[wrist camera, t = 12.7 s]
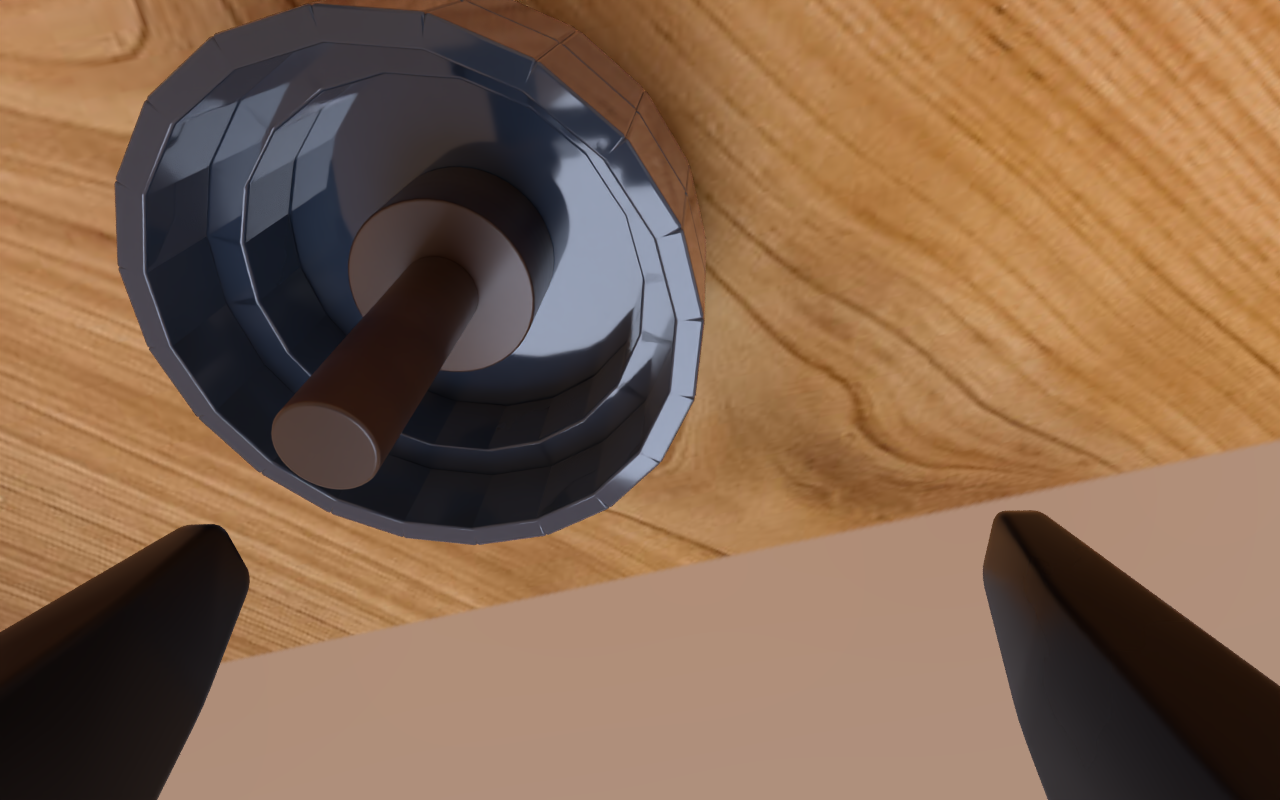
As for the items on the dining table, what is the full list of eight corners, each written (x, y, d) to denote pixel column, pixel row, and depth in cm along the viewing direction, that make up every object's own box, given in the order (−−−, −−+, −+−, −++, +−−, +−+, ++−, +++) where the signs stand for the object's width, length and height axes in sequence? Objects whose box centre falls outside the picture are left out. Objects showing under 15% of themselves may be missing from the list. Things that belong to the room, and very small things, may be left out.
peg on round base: (587, 243, 18) (509, 443, 11) (495, 355, 20) (381, 581, 13) (441, 127, 17) (248, 270, 10) (358, 259, 19) (151, 454, 12)
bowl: (803, 224, 18) (830, 313, 14) (534, 491, 24) (496, 610, 20) (381, -157, 15) (249, -189, 10) (183, 265, 20) (48, 353, 16)
